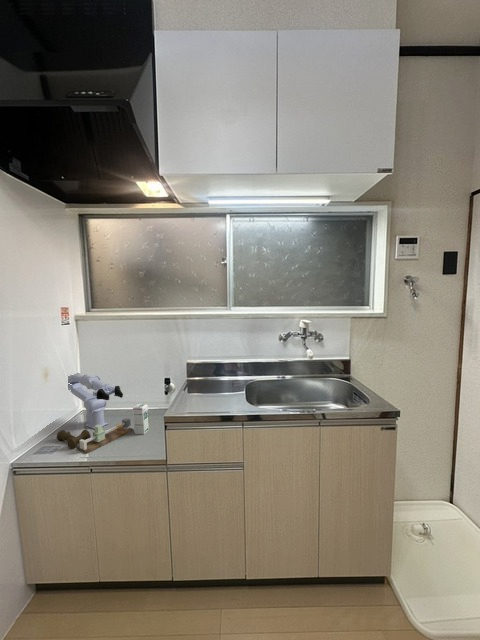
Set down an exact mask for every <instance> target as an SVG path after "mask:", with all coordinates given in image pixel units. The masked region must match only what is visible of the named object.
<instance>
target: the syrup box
mask: <svg viewBox="0 0 480 640" xmlns="http://www.w3.org/2000/svg"><path fill="white" fill-rule="evenodd" d="M132 412H133V414H132V417H133V432H134V434H136V435H137V434H138V435H145V434H146V433H147V432H148V431H150V420H149V419H150V418H149V416H150V415H149V405H148V403H138V404H136V405H135V406H132Z"/></svg>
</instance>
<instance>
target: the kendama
mask: <svg viewBox="0 0 480 640" xmlns="http://www.w3.org/2000/svg"><path fill="white" fill-rule="evenodd" d="M91 437H92V436H91V432H90V431H89V430H88V429H83V430H82V431H81V433H80V434H79V435H77V436H74V435H72V434H71V432H70V431H66V430H65V429H62V430H59V431H58V432H57V433H56V440H57V441H63V442H66V445H67V447H68V448H69V449H71V450H74V449H76V447H78V445H79V444H80V441H79V440H81V439H83V440H86V439H89V438H91Z"/></svg>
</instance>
